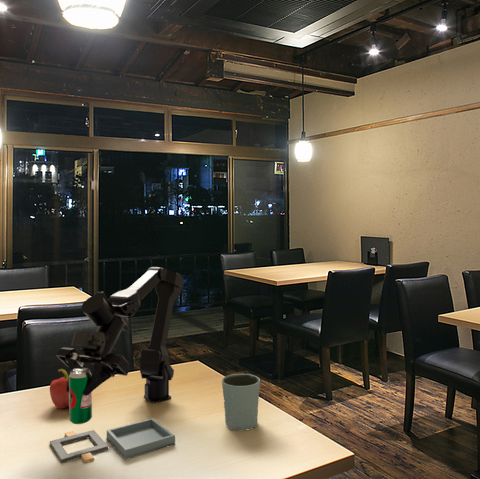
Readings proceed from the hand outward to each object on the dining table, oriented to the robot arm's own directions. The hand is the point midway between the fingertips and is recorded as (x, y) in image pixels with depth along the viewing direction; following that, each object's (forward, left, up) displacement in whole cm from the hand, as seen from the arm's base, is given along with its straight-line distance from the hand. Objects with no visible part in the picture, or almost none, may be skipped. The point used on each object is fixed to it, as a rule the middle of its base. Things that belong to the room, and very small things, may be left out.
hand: (76, 393), depth 105 cm
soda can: (-1, -1, -7) cm, 7 cm away
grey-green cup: (-40, +11, -13) cm, 43 cm away
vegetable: (-6, -29, -13) cm, 32 cm away
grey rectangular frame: (-1, -1, -13) cm, 13 cm away
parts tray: (-14, +5, -13) cm, 20 cm away
